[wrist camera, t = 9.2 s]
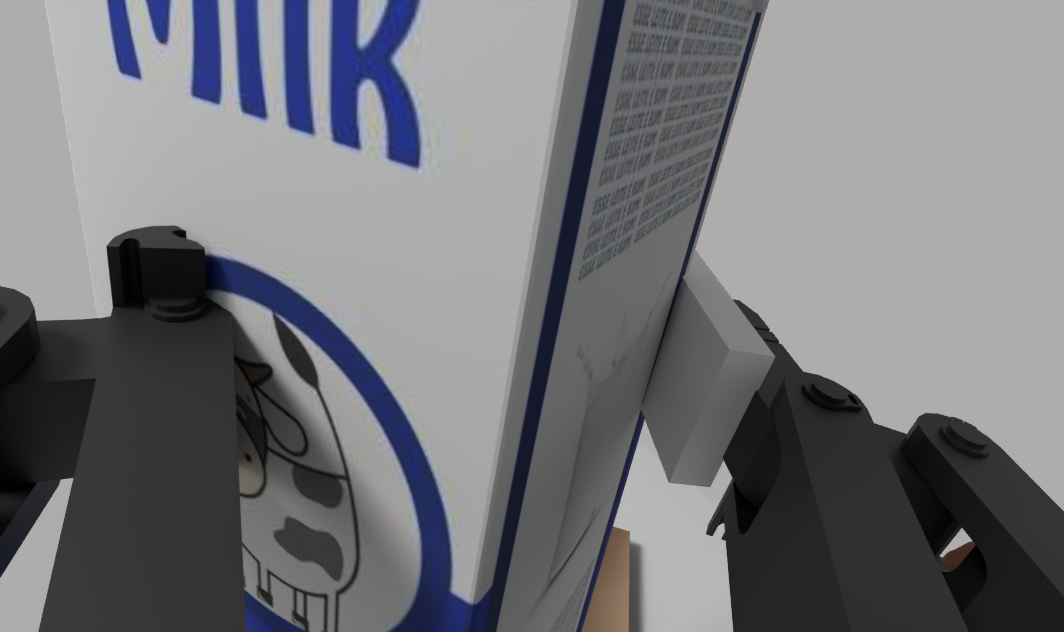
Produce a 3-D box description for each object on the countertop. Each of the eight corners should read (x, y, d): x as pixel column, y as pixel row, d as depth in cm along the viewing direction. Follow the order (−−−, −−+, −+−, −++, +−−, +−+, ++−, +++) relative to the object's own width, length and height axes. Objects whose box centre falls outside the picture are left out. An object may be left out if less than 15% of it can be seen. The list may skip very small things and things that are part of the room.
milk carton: (574, 680, 17) (875, -304, 8) (418, 976, 11) (822, -1111, 2) (370, 552, 20) (425, -298, 11) (162, 745, 14) (-88, -685, 5)
